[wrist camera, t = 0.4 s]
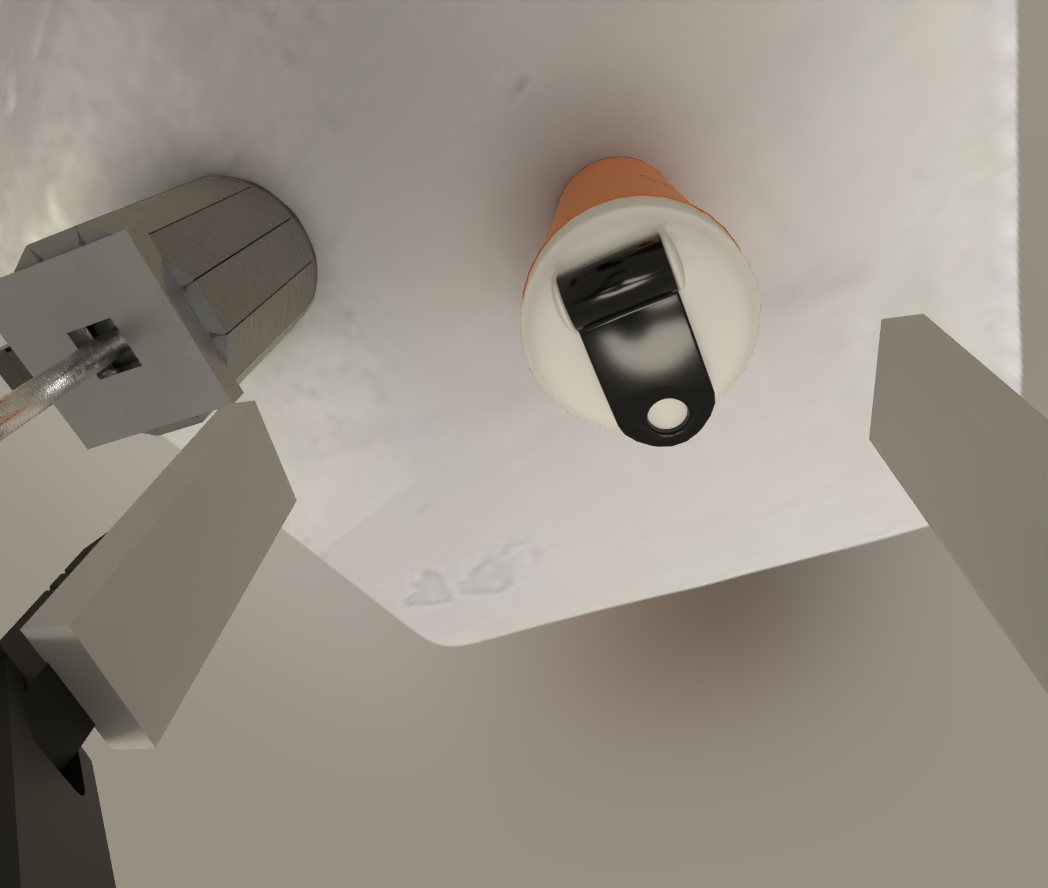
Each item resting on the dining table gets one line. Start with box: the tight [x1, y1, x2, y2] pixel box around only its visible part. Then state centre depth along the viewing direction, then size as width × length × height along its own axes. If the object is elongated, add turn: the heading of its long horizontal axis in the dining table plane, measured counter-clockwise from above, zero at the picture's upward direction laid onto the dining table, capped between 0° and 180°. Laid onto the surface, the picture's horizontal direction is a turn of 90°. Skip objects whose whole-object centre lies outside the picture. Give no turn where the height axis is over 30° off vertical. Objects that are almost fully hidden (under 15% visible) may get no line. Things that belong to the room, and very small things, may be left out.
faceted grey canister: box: [0, 176, 317, 449], centre depth 37 cm, size 10×13×14 cm
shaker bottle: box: [520, 157, 760, 447], centre depth 32 cm, size 9×9×20 cm
